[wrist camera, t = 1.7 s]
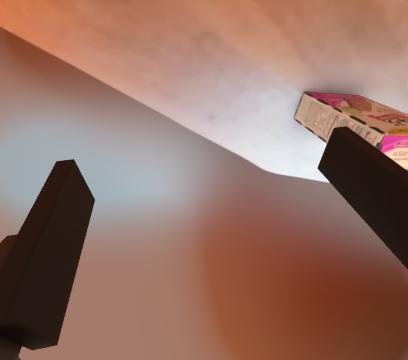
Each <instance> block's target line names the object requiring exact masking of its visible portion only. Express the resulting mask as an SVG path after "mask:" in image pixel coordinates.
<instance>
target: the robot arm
mask: <svg viewBox="0 0 408 360" xmlns="http://www.w3.org/2000/svg"><path fill="white" fill-rule="evenodd" d="M318 169H319V171H320V172H321V173H322V174H323V175H324V176H325V177H326V178H327V179H328V181H329V182H330V183H331V184H332V185H333V186H334V187H335V188H336V189H337V191H338V192H339V193H340V194H341V195H342V196H343V197H344V198H345V200H346V201H347V202H348V203H349V204H350V205H351V206H352V207H353V209H354V210H355V211H356V212H357V213H358V214H359V215H360V216H361V218H362V219H363V220H364V221H365V222H366V223H367V224H368V225H369V227H370V228H371V229H372V230H373V231H374V232H375V233H376V234H377V235H378V237H379V238H380V239H381V240H382V241H383V242H384V243H385V244H386V246H387V247H388V248H389V249H390V250H391V251H392V252H393V253H394V254H395V256H396V257H397V258H398V259H399V260H400V261H401V262H402V264H403V265H404V266H405V267H406V268H407V269H408V171H407V170H406V169H405V168H403V167H402V166H400V165H399V164H398V163H396V162H395V161H394V160H392V159H391V158H390V157H388V156H387V155H385V154H384V153H383V152H381V151H380V150H379V149H377V148H376V147H375V146H373V145H372V144H371V143H369V142H368V141H366V140H365V139H364V138H362V137H361V136H360V135H358V134H357V133H356V132H354V131H353V130H351V129H350V128H349V127H347V126H343V127H335V128H333V130H332V133H331V135H330V138H329V140H328V143H327V145H326V148H325V151H324V153H323V156H322V158H321V161H320V163H319V166H318ZM94 202H95V199H94V197H93V195H92V193H91V191H90V189H89V187H88V186H87V184H86V182H85V180H84V178H83V176H82V174H81V172H80V170H79V168H78V166H77V165H76V162H75V161H74V159H73V160H64V161H57V162H56V163H55V165H54V167H53V169H52V171H51V173H50V175H49V177H48V178H47V180H46V182H45V184H44V186H43V188H42V190H41V191H40V194H39V195H38V197H37V199H36V201H35V203H34V205H33V207H32V208H31V210H30V212H29V214H28V216H27V218H26V220H25V222H24V224H23V225H22V227H21V229H20V231H19V233H18V234H17V235H11V236H7V237H6V238H5V239H4V240H3V241H2V242H1V243H0V360H21V359H20V358H19V357H18V356H19V353H20V350H21V347H22V346H23V347H26V348H28V349H30V350H36V349H41V348H46V347H51V346H55V345H57V344H58V340H59V336H60V332H61V328H62V324H63V321H64V317H65V313H66V309H67V305H68V301H69V298H70V294H71V290H72V286H73V282H74V278H75V275H76V270H77V267H78V263H79V259H80V255H81V252H82V248H83V244H84V240H85V236H86V232H87V228H88V225H89V221H90V217H91V213H92V209H93V205H94Z"/></svg>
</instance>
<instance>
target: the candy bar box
mask: <svg viewBox="0 0 408 360" xmlns="http://www.w3.org/2000/svg"><path fill="white" fill-rule="evenodd" d="M294 120H296V121H297V122H299V123H300V124H301V125H303V126H304V127H305V128H307V129H308V130H309V131H311V132H312V133H314V134H315V135H316V136H317V137H319V138H320V139H322V140H323V141H324V142H326V143H328V140H329V138H330V135H331V133H332V130H333V128H335V127H343V126H347V127H349V128H350V129H351V130H353V131H354V132H356V133H357V134H358V135H360V136H361V137H362V138H364V139H365V140H366V141H368V142H369V143H371V144H372V145H373V146H375V147H376V148H377V149H379V150H380V151H381V152H383V153H384V154H385V155H387V156H388V157H390V158H391V159H392V160H394V161H395V162H396V163H398V164H399V165H400V166H402V167H403V168H405V169H406V170H408V114H406V113H403V112H400V111H398V110H395V109H393V108H390V107H387V106H385V105H382V104H380V103H377V102H375V101H372V100H370V99H367V98H365V97H362V96H360V95H341V94H325V93H309V92H304V93H303V96H302V98H301V101H300V105H299V108H298V110H297V113H296V115H295V118H294Z"/></svg>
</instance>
